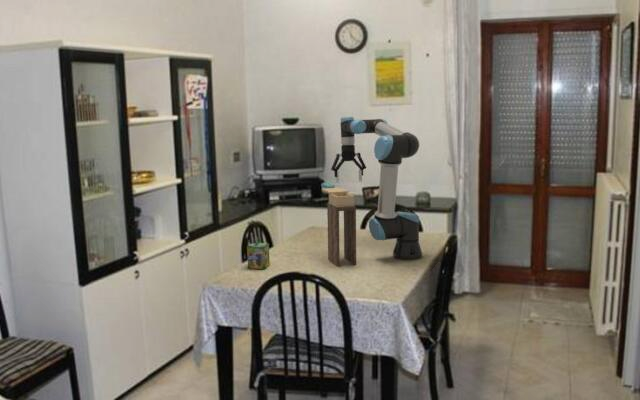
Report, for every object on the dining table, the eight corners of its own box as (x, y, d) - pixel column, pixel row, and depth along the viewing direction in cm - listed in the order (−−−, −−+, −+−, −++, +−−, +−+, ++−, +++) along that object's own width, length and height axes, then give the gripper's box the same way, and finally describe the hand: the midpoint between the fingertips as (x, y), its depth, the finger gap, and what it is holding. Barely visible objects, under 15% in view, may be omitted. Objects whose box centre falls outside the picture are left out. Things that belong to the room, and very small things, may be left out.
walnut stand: (356, 265, 316) (355, 206, 311) (337, 266, 313) (336, 207, 308) (346, 257, 330) (345, 201, 325) (328, 259, 327) (327, 202, 323)
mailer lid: (348, 192, 320) (348, 188, 320) (329, 193, 318) (329, 189, 317) (333, 186, 344) (333, 182, 343) (315, 187, 341) (315, 183, 340)
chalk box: (265, 269, 311) (264, 240, 308) (247, 269, 312) (246, 239, 310) (270, 264, 320) (269, 236, 317) (253, 264, 321) (251, 235, 319)
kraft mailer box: (354, 205, 312) (354, 195, 311) (336, 206, 310) (336, 196, 309) (345, 201, 324) (345, 192, 324) (328, 202, 322) (328, 193, 321)
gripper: (366, 143, 361) (367, 180, 364) (324, 145, 354) (326, 183, 356) (371, 143, 354) (372, 181, 357) (328, 145, 347) (330, 184, 349)
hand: (349, 182), depth 357 cm, fingers open, 13 cm apart
